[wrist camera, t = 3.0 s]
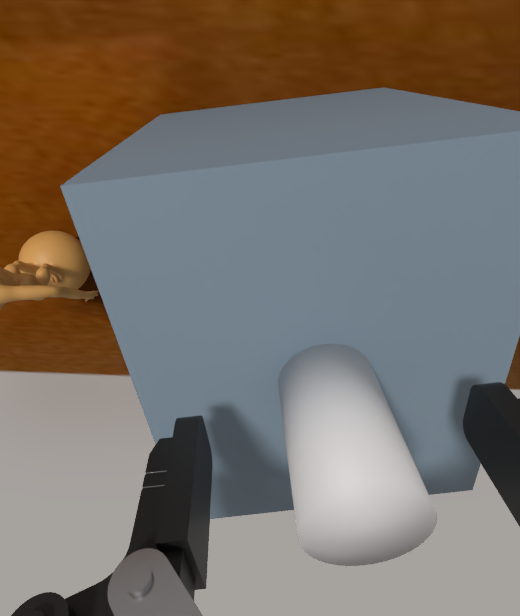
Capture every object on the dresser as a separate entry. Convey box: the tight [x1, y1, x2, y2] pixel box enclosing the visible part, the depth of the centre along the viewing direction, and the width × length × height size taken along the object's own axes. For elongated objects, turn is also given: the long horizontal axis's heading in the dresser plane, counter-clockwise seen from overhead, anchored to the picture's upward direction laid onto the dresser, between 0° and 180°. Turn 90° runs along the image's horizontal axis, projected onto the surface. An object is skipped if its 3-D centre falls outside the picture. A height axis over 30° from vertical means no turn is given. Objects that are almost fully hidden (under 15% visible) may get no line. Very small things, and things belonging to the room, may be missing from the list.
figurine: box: [0, 231, 99, 309], centre depth 21 cm, size 8×6×12 cm
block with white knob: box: [60, 88, 520, 566], centre depth 18 cm, size 13×15×20 cm
